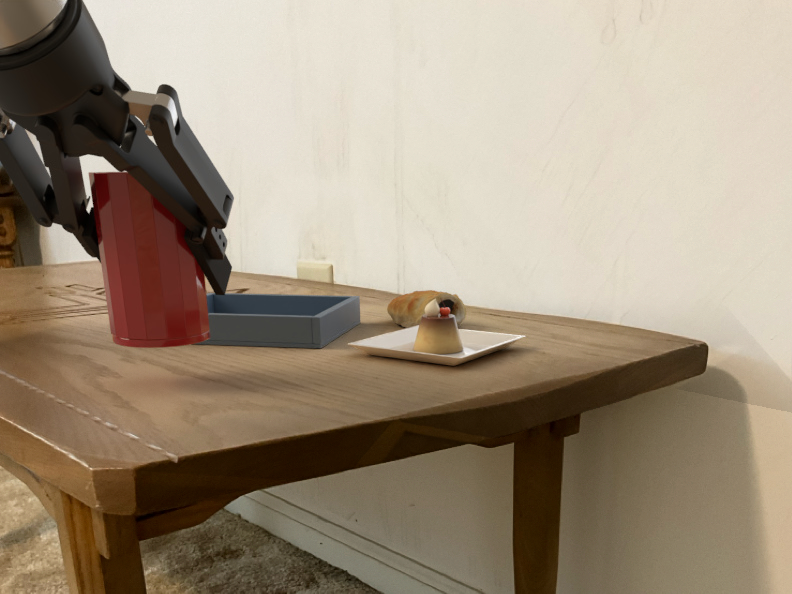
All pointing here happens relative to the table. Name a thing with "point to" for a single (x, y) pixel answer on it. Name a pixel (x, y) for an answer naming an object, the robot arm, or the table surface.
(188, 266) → the cup
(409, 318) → the pastry
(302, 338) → the serving tray
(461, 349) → the dessert
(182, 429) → the table surface
